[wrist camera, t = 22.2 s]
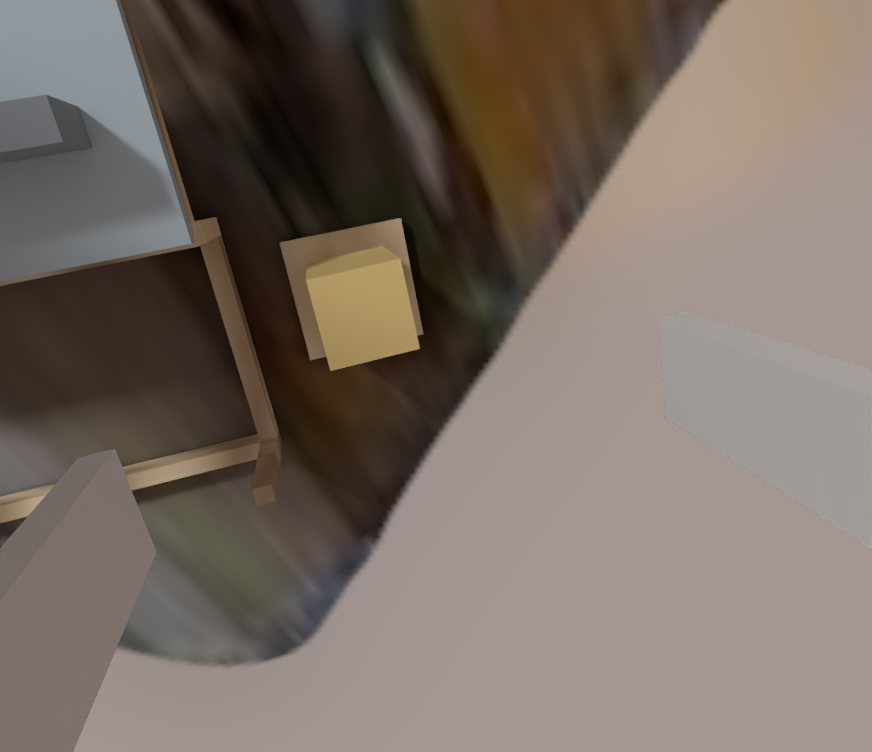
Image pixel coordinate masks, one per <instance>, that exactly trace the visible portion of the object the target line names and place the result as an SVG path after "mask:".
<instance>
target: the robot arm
mask: <svg viewBox="0 0 872 752" xmlns="http://www.w3.org/2000/svg"><path fill="white" fill-rule="evenodd" d="M659 331H660V348H661V365H662V383H663V399H664V418H665V419H667V420H669V421H670V422H672V423H673V424H675V425H676V426H678V427H679V428H681V429H683V430H684V431H686V432H687V433H689V434H690V435H692V436H694V437H695V438H697V439H699V440H700V441H701V442H703V443H705V444H706V445H708V446H710V447H711V448H713V449H714V450H716V451H717V452H719V453H720V454H722V455H724V456H725V457H727V458H728V459H730V460H731V461H733V462H735V463H736V464H738V465H739V466H741V467H742V468H744V469H746V470H747V471H749V472H750V473H752V474H754V475H755V476H757V477H758V478H760V479H761V480H763V481H764V482H766V483H768V484H769V485H771V486H773V487H774V488H775V489H777V490H779V491H780V492H782V493H783V494H785V495H787V496H788V497H790V498H791V499H793V500H794V501H796V502H798V503H799V504H801V505H802V506H804V507H805V508H807V509H809V510H810V511H812V512H813V513H815V514H816V515H818V516H820V517H821V518H823V519H824V520H826V521H827V522H829V523H831V524H832V525H834V526H835V527H837V528H838V529H840V530H842V531H843V532H845V533H846V534H848V535H849V536H851V537H853V538H854V539H856V540H857V541H859V542H860V543H862V544H864V545H865V546H867V547H868V548H870V549H872V370H869V369H866V368H862V367H860V366H856V365H853V364H850V363H847V362H844V361H841V360H837V359H834V358H831V357H828V356H824V355H821V354H819V353H815V352H812V351H809V350H806V349H803V348H800V347H796V346H793V345H790V344H787V343H784V342H781V341H777V340H774V339H771V338H768V337H765V336H762V335H758V334H756V333H752V332H749V331H746V330H742V329H740V328H737V327H733V326H730V325H727V324H724V323H721V322H718V321H714V320H711V319H708V318H705V317H702V316H699V315H696V314H692V313H689V312H683V313H679V314H675V315H671V316H666V317H662V318H659ZM155 555H156V550H155V548H154V545H153V543H152V540H151V538H150V535H149V533H148V530H147V528H146V525H145V523H144V520H143V518H142V515H141V513H140V510H139V508H138V505H137V503H136V500H135V498H134V495H133V493H132V490H131V488H130V485H129V483H128V480H127V478H126V475H125V473H124V470H123V468H122V465H121V463H120V460H119V458H118V455H117V452H116V450H115V449H112V450H107V451H103V452H99V453H95V454H91V455H87V456H82V457H79V458H78V459H77V460H76V461H75V462H74V463H73V465H72V466H71V467H70V468H69V469H68V470H67V472H66V473H65V474H64V475H63V476H62V477H61V478H60V480H59V481H58V482H57V483H56V484H55V485H54V487H53V488H52V489H51V490H50V491H49V492H48V494H47V495H46V496H45V497H44V498H43V499H42V500H41V502H40V503H39V504H38V505H37V506H36V507H35V509H34V510H33V511H32V512H31V513H30V514H29V516H28V517H27V518H26V519H25V520H24V521H23V523H22V524H21V525H20V526H19V527H18V528H17V529H16V531H15V532H14V533H13V534H12V535H11V536H10V538H9V539H8V540H7V541H6V542H5V543H4V545H3V546H2V547H1V548H0V752H73V750H74V748H75V745H76V743H77V741H78V739H79V736H80V734H81V731H82V729H83V727H84V724H85V722H86V719H87V717H88V715H89V712H90V710H91V707H92V705H93V703H94V700H95V698H96V696H97V693H98V691H99V688H100V686H101V684H102V681H103V679H104V677H105V674H106V672H107V669H108V667H109V665H110V662H111V660H112V657H113V655H114V653H115V650H116V648H117V646H118V643H119V641H120V638H121V636H122V634H123V631H124V629H125V627H126V624H127V622H128V619H129V617H130V615H131V612H132V610H133V607H134V605H135V603H136V600H137V598H138V596H139V593H140V591H141V588H142V586H143V584H144V581H145V579H146V576H147V574H148V572H149V569H150V567H151V565H152V562H153V560H154V557H155Z"/></svg>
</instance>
